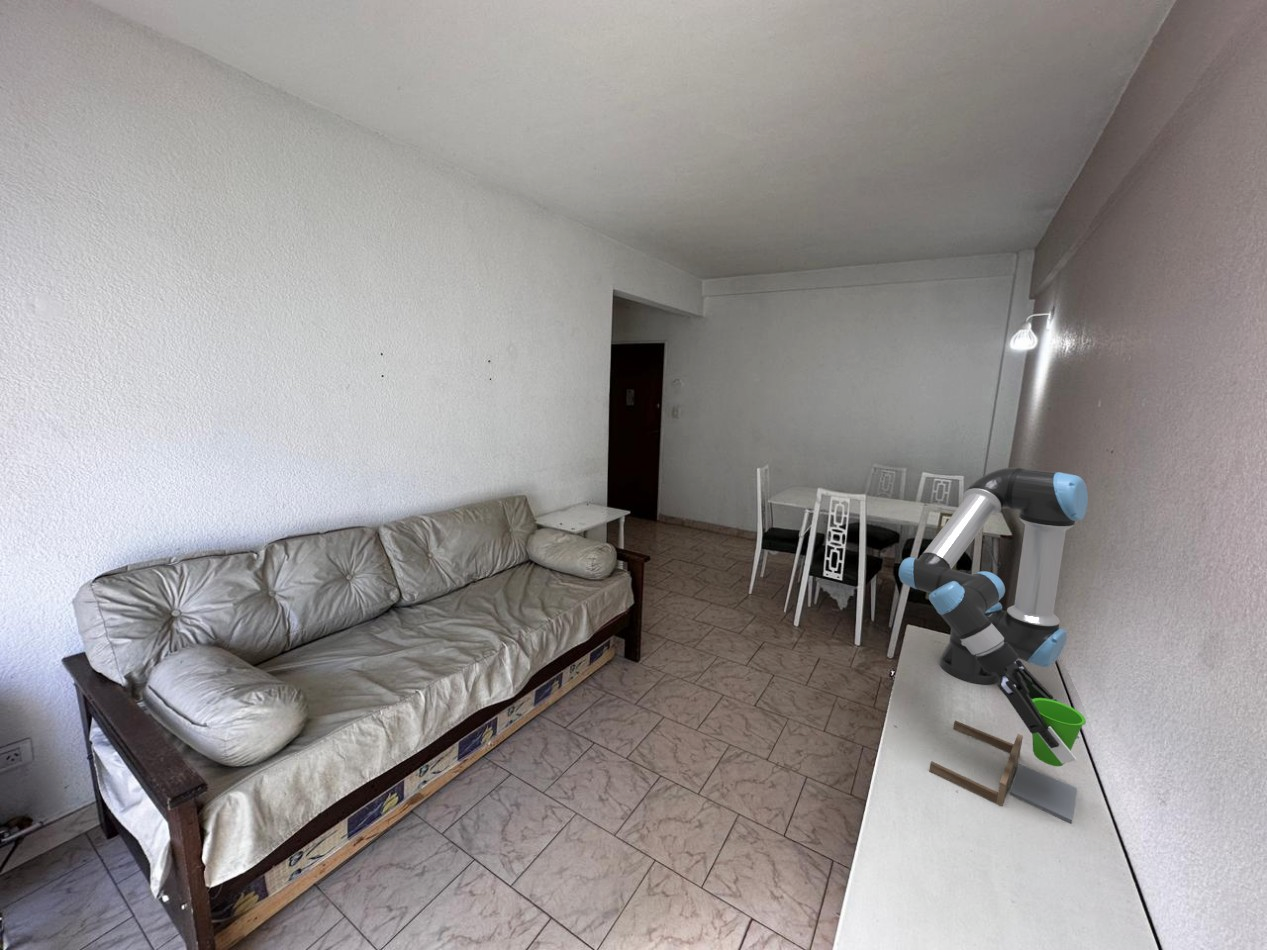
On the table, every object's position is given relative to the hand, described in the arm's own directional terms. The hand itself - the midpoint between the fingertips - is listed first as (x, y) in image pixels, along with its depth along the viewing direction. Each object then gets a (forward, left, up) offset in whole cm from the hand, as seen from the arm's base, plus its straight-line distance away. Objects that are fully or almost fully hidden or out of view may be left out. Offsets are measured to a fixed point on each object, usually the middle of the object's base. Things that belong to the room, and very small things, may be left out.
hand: (1071, 749), depth 103 cm
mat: (0, -3, -12) cm, 13 cm away
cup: (0, -3, -4) cm, 5 cm away
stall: (0, -16, -12) cm, 20 cm away
